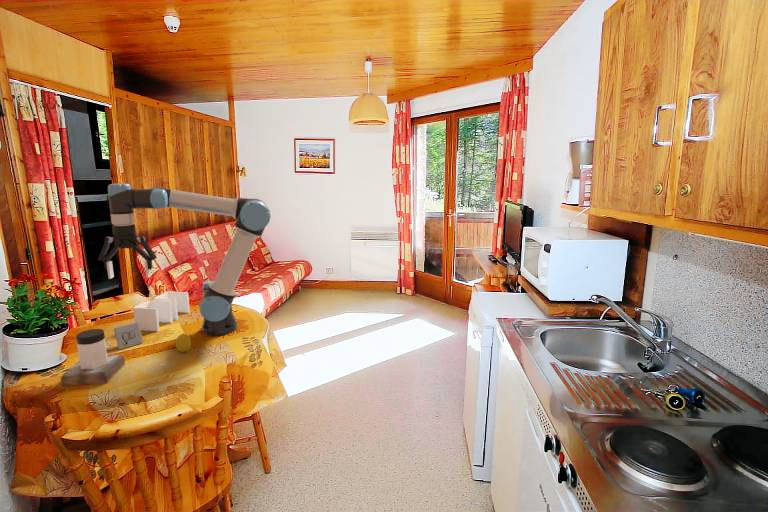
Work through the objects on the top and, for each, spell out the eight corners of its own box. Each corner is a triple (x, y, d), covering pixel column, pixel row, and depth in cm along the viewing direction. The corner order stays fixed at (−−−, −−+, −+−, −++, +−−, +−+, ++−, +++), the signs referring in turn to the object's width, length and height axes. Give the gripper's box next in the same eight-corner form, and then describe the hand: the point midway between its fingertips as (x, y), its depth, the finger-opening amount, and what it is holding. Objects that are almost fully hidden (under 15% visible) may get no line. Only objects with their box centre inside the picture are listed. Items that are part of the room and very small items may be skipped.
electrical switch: (119, 350, 167) (115, 328, 166) (114, 348, 170) (110, 326, 169) (143, 343, 174) (140, 322, 173) (138, 341, 178) (135, 320, 176)
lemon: (174, 351, 167) (172, 333, 165) (188, 347, 171) (187, 329, 169) (179, 356, 163) (177, 337, 161) (193, 352, 167) (192, 333, 165)
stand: (124, 364, 156) (123, 354, 155) (107, 382, 142) (105, 372, 142) (84, 366, 154) (82, 356, 153) (62, 385, 140) (60, 375, 139)
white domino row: (170, 311, 212) (168, 291, 210) (189, 312, 211) (188, 292, 209) (136, 330, 188) (133, 307, 186) (158, 331, 187) (155, 309, 185)
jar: (101, 356, 153) (97, 326, 150) (114, 361, 149) (110, 331, 147) (74, 366, 145) (69, 335, 143) (87, 372, 142) (82, 340, 139)
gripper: (161, 222, 163) (167, 274, 168) (93, 223, 159) (100, 275, 163) (154, 225, 156) (160, 279, 160) (82, 226, 152) (90, 281, 156)
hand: (130, 277), depth 162 cm, fingers open, 13 cm apart
